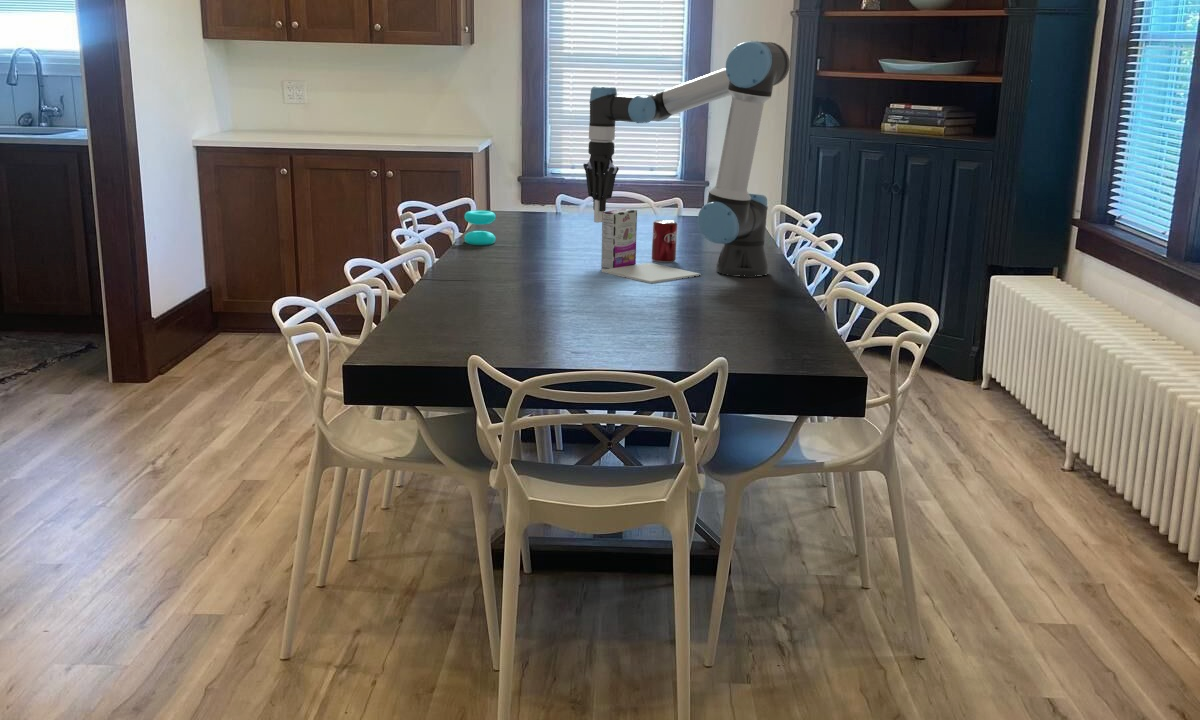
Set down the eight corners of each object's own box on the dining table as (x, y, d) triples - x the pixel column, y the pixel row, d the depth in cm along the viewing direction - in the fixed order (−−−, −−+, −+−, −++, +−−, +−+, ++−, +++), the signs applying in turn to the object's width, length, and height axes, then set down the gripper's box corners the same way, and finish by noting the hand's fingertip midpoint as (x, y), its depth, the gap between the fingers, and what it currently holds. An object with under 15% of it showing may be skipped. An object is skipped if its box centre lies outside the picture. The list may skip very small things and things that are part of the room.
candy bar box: (622, 262, 334) (624, 207, 330) (636, 265, 331) (638, 209, 327) (599, 267, 325) (601, 211, 321) (613, 270, 323) (615, 213, 318)
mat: (700, 275, 318) (700, 273, 318) (650, 283, 305) (650, 281, 305) (650, 264, 332) (650, 262, 332) (601, 271, 319) (601, 269, 319)
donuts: (466, 209, 362) (497, 210, 362) (466, 240, 365) (497, 241, 365) (462, 213, 352) (493, 214, 352) (462, 245, 355) (493, 246, 355)
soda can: (647, 261, 338) (649, 221, 335) (657, 258, 344) (659, 219, 341) (669, 264, 335) (671, 224, 332) (679, 260, 341) (681, 221, 338)
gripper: (626, 142, 323) (623, 223, 329) (596, 138, 332) (593, 218, 339) (607, 143, 318) (604, 225, 324) (577, 139, 327) (574, 220, 334)
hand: (599, 221), depth 331 cm, fingers closed
